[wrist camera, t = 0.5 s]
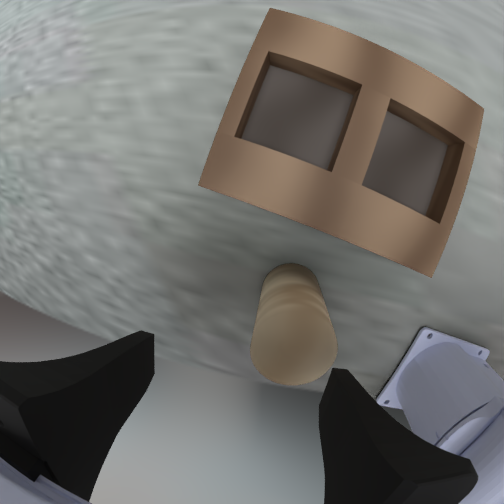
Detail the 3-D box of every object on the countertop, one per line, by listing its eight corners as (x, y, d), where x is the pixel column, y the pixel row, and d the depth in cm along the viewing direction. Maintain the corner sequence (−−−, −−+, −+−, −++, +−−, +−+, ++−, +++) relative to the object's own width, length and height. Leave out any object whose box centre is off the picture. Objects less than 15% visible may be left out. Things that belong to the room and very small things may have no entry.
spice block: (458, 116, 17) (484, 108, 13) (410, 263, 19) (431, 277, 16) (272, 32, 17) (270, 7, 13) (212, 184, 20) (197, 185, 16)
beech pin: (328, 275, 20) (352, 328, 12) (305, 324, 21) (314, 393, 13) (274, 254, 20) (268, 299, 13) (253, 305, 21) (238, 370, 14)
